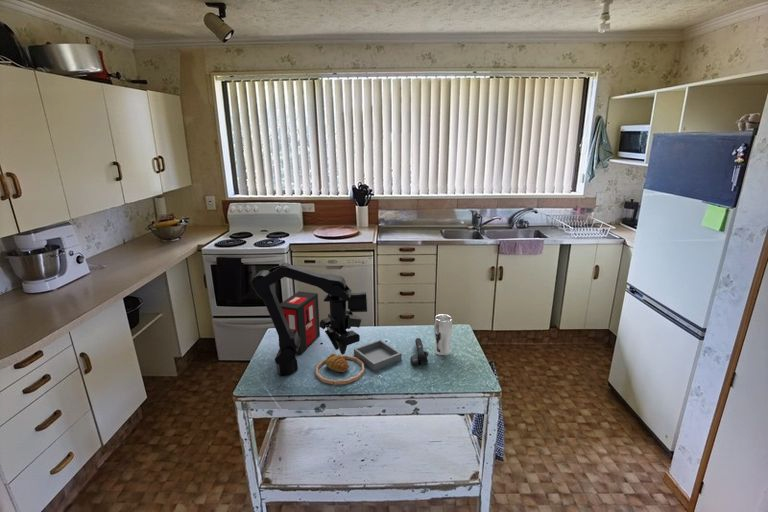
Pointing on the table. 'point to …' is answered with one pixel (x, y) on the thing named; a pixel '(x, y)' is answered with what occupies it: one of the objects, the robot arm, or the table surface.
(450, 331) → the drink can
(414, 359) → the can opener
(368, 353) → the bin
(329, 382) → the socket ring
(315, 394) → the table surface
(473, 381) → the table surface
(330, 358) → the pastry
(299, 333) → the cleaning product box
